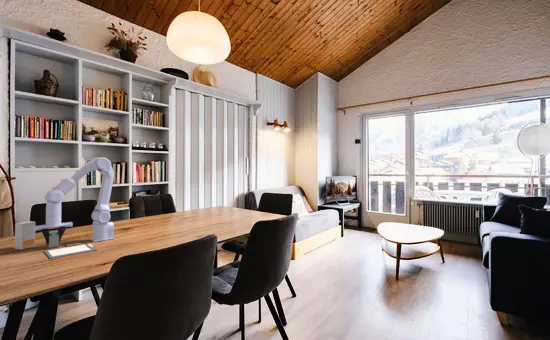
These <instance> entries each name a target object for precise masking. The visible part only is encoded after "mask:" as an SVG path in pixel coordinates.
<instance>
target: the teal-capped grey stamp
mask: <svg viewBox="0 0 550 340" xmlns="http://www.w3.org/2000/svg"><path fill="white" fill-rule="evenodd" d="M59 247H60V243H59V234H58V231H53V232H49V245H47V248H48V250H52V249H58V248H59Z"/></svg>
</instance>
